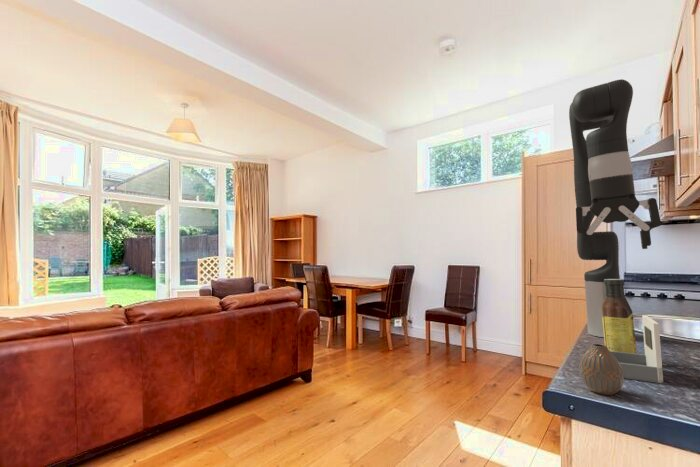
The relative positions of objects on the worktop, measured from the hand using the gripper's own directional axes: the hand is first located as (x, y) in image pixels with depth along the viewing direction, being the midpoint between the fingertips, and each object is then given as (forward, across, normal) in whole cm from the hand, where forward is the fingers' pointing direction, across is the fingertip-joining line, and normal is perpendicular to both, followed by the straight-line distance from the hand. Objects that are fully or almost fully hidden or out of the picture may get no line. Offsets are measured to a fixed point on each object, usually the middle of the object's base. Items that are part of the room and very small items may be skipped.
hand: (618, 250), depth 73 cm
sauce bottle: (+29, +2, -13) cm, 32 cm away
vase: (+26, +6, +13) cm, 30 cm away
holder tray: (+28, +2, -2) cm, 28 cm away
